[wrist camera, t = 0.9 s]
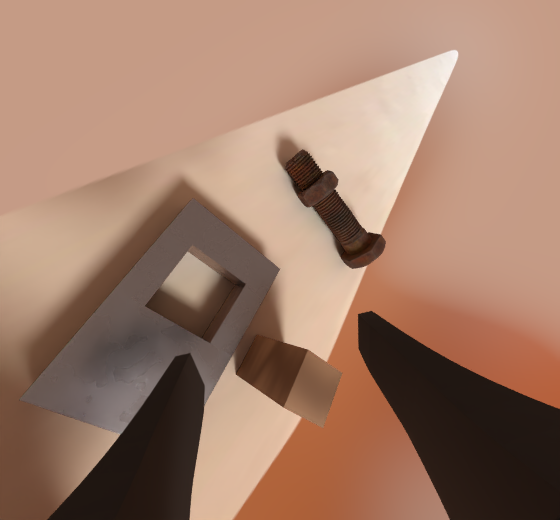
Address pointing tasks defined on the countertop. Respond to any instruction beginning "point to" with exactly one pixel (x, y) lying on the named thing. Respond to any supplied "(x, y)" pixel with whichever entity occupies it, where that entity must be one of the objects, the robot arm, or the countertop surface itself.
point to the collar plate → (154, 327)
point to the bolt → (334, 211)
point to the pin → (291, 377)
